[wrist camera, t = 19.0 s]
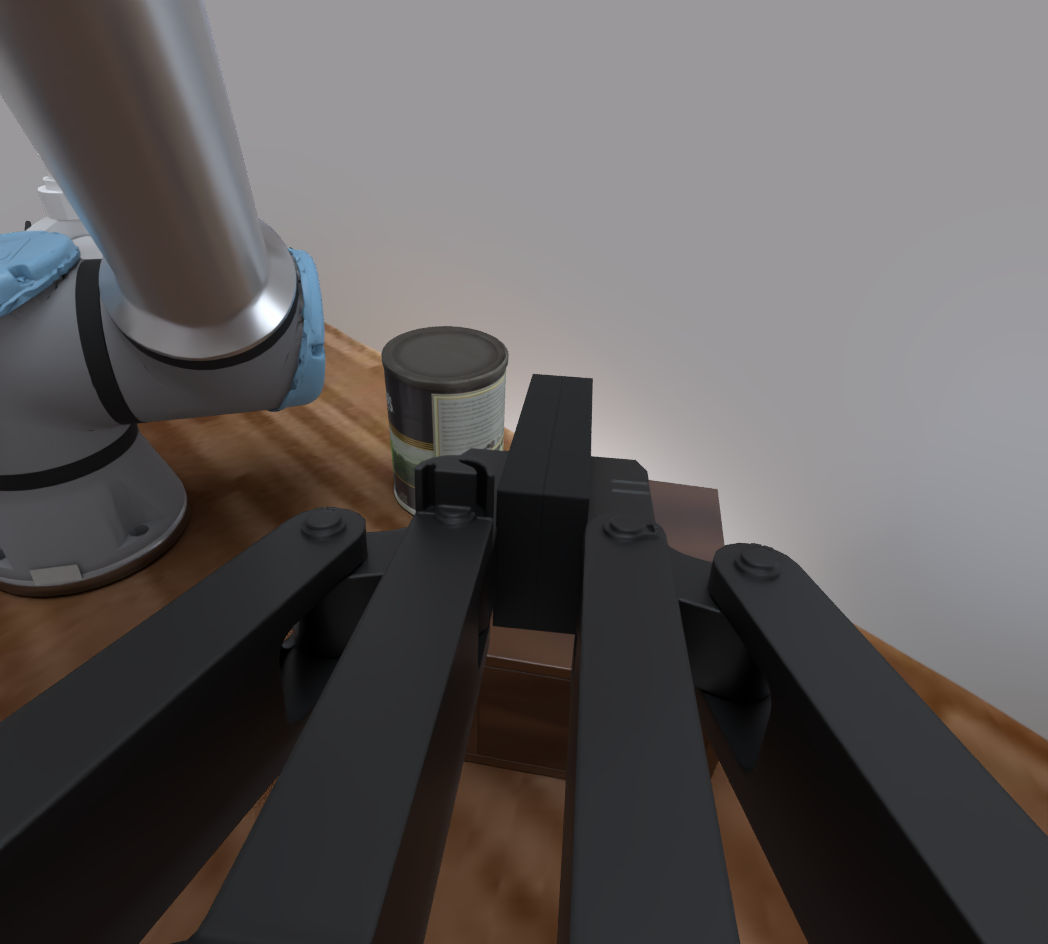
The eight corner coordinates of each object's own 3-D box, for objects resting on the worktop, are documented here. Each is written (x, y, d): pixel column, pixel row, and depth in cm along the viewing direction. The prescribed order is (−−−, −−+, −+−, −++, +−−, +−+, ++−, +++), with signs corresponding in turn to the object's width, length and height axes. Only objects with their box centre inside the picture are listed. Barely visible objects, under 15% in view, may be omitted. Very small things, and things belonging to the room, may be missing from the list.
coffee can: (379, 516, 58) (364, 373, 50) (409, 451, 67) (401, 320, 58) (494, 529, 58) (498, 387, 49) (510, 462, 66) (516, 331, 58)
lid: (519, 471, 49) (519, 462, 48) (715, 497, 47) (717, 488, 47) (462, 661, 35) (462, 652, 34) (740, 708, 33) (743, 698, 33)
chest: (512, 570, 54) (517, 477, 48) (690, 597, 52) (716, 504, 47) (463, 761, 40) (462, 662, 35) (701, 805, 39) (739, 709, 33)
